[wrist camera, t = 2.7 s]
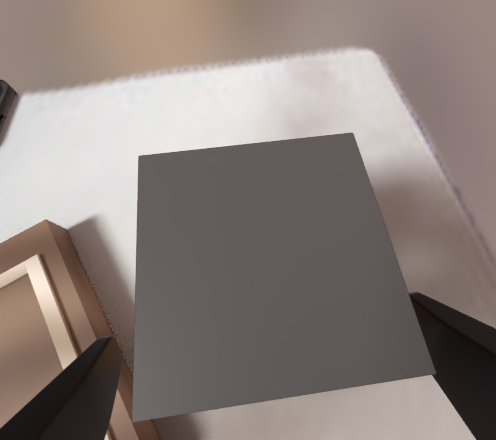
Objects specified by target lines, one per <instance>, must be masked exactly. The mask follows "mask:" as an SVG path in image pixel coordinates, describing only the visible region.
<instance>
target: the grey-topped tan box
mask: <svg viewBox="0 0 496 440" xmlns="http://www.w3.org/2000/svg"><path fill="white" fill-rule="evenodd" d="M432 374H436V372H435V369H434V366H433V363H432V360H431V357H430V354H429V351H428V348H427V346H426V343H425V340H424V337H423V334H422V331H421V328H420V325H419V322H418V319H417V317H416V314H415V311H414V308H413V305H412V302H411V299H410V296H409V293H408V291H407V288H406V285H405V282H404V279H403V276H402V273H401V270H400V267H399V264H398V262H397V259H396V256H395V253H394V250H393V247H392V244H391V241H390V238H389V236H388V233H387V230H386V227H385V224H384V221H383V218H382V215H381V212H380V209H379V207H378V204H377V201H376V198H375V195H374V192H373V189H372V186H371V183H370V180H369V178H368V175H367V172H366V169H365V166H364V163H363V160H362V157H361V154H360V152H359V149H358V146H357V143H356V140H355V137H354V134H353V133H344V134H335V135H326V136H317V137H307V138H298V139H289V140H280V141H271V142H262V143H252V144H243V145H234V146H225V147H216V148H207V149H197V150H188V151H179V152H170V153H161V154H152V155H142V156H139V159H138V201H137V243H136V285H135V327H134V369H133V411H132V422H137V421H144V420H150V419H156V418H163V417H169V416H175V415H181V414H188V413H194V412H200V411H206V410H213V409H219V408H225V407H232V406H238V405H244V404H250V403H257V402H263V401H269V400H276V399H282V398H288V397H294V396H301V395H307V394H313V393H319V392H326V391H332V390H338V389H345V388H351V387H357V386H363V385H370V384H376V383H382V382H389V381H395V380H401V379H407V378H414V377H420V376H426V375H432Z"/></svg>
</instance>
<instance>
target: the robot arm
mask: <svg viewBox="0 0 496 440" xmlns="http://www.w3.org/2000/svg"><path fill="white" fill-rule="evenodd" d="M409 296H410V299H411V302H412V305H413V308H414V311H415V314H416V317H417V319H418V322H419V325H420V328H421V331H422V334H423V337H424V340H425V343H426V346H427V348H428V351H429V354H430V357H431V360H432V363H433V366H434V369H435V372H436V374H432V376H433V377H434V379H435V380H436V381H437V383H438V384H439V386H440V387H441V389H442V390H443V392H444V393H445V395H446V396H447V398H448V399H449V400H450V402H451V403H452V405H453V406H454V408H455V409H456V411H457V412H458V414H459V415H460V417H461V418H462V419H463V421H464V422H465V424H466V425H467V427H468V428H469V430H470V431H471V433H472V434H473V436H474V437H475V438H476V440H496V329H495V328H493V327H491V326H489V325H486V324H484V323H482V322H480V321H478V320H476V319H474V318H472V317H469V316H467V315H465V314H463V313H461V312H459V311H457V310H455V309H453V308H450V307H448V306H446V305H444V304H442V303H440V302H438V301H436V300H433V299H431V298H429V297H427V296H425V295H423V294H421V293H418V292H413V293H409ZM122 363H123V354H122V351H121V349H120V346H119V344H118V342H117V340H116V338H115V337H114V336H112V335H111V336H104V337H100V338H98V339H97V340H95V341H94V342H93V343H92V344H91V345H90V346H89V347H88V348H87V349H86V350H85V351H83V352H82V353H81V354H80V355H79V356H78V357H77V358H76V359H75V360H74V361H73V362H72V363H70V364H69V365H68V366H67V367H66V368H65V369H64V370H63V371H62V372H61V373H60V374H59V375H57V376H56V377H55V378H54V379H53V380H52V381H51V382H50V383H49V384H48V385H47V386H45V387H44V388H43V389H42V390H41V391H40V392H39V393H38V394H37V395H36V396H35V397H34V398H32V399H31V400H30V401H29V402H28V403H27V404H26V405H25V406H24V407H23V408H22V409H21V410H19V411H18V412H17V413H16V414H15V415H14V416H13V417H12V418H11V419H10V420H9V421H8V422H6V423H5V424H4V425H3V426H2V427H1V428H0V440H104V439H105V436H106V433H107V430H108V426H109V423H110V419H111V415H112V411H113V406H114V401H115V397H116V392H117V387H118V382H119V378H120V373H121V368H122Z"/></svg>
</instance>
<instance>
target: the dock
mask: <svg viewBox="0 0 496 440" xmlns="http://www.w3.org/2000/svg"><path fill="white" fill-rule="evenodd" d="M111 335H112V336H114V335H113V333H112V330H111V328H110V326H109V324H108V321H107V319H106V317H105V315H104V313H103V310H102V308H101V306H100V304H99V301H98V299H97V297H96V295H95V292H94V290H93V288H92V286H91V283H90V281H89V279H88V277H87V274H86V272H85V270H84V268H83V265H82V263H81V261H80V259H79V256H78V254H77V252H76V250H75V248H74V245H73V243H72V241H71V239H70V236H69V234H68V232H67V230H66V229H65V228H63V227H61V226H59V225H56V224H54V223H52V222H50V221H48V220H44V221H42V222H40V223H38V224H36V225H34V226H32V227H31V228H29V229H27V230H25V231H23V232H21V233H19V234H17V235H15V236H14V237H12V238H10V239H8V240H6V241H4V242H2V243H0V428H1V427H2V426H3V425H4V424H5V423H6V422H8V421H9V420H10V419H11V418H12V417H13V416H14V415H15V414H16V413H17V412H18V411H19V410H21V409H22V408H23V407H24V406H25V405H26V404H27V403H28V402H29V401H30V400H31V399H32V398H34V397H35V396H36V395H37V394H38V393H39V392H40V391H41V390H42V389H43V388H44V387H45V386H47V385H48V384H49V383H50V382H51V381H52V380H53V379H54V378H55V377H56V376H57V375H59V374H60V373H61V372H62V371H63V370H64V369H65V368H66V367H67V366H68V365H69V364H70V363H72V362H73V361H74V360H75V359H76V358H77V357H78V356H79V355H80V354H81V353H82V352H83V351H85V350H86V349H87V348H88V347H89V346H90V345H91V344H92V343H93V342H94V341H95V340H97V339H98V338H100V337H104V336H111ZM132 411H133V377H132V375H131V373H130V371H129V369H128V366H127V364H126V362H125V360H124V357H123V363H122V368H121V373H120V378H119V382H118V387H117V392H116V397H115V401H114V406H113V411H112V415H111V419H110V423H109V426H108V430H107V433H106V436H105V439H104V440H160V438H159V436H158V434H157V431H156V429H155V427H154V425H153V422H152V420H151V419H150V420H144V421H137V422H132Z"/></svg>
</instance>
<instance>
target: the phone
mask: <svg viewBox="0 0 496 440" xmlns="http://www.w3.org/2000/svg"><path fill="white" fill-rule="evenodd" d="M14 95H18V93H17V92H16V91H15V90H14V89H13V88H11V86H9V85H8V84H7V83H6V82H5V81H3V80H0V116H1V115H2V116H3V118H2V120H1V123H0V131H1V129H2V126H3V124H4V121H5V118H6V116H7V113H8V111H9V108H10V106H11V103H12V101H13V98H14Z"/></svg>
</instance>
